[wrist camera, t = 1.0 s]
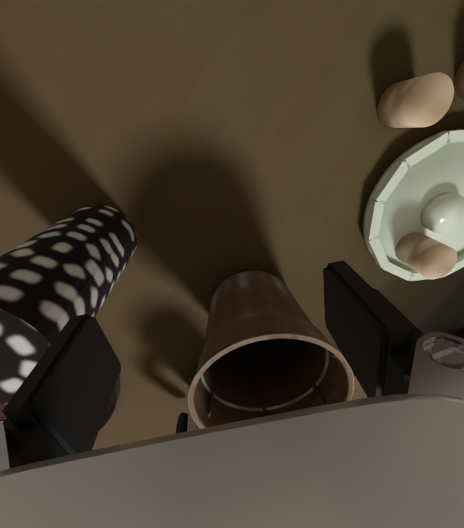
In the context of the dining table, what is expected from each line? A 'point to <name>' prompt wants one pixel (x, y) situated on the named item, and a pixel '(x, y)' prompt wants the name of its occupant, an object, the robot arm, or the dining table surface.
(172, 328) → the dining table surface
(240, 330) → the plant pot
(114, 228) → the white-spotted black cylinder
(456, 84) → the brown egg
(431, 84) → the tan egg
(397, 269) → the pale green faceted plate
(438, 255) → the bead
